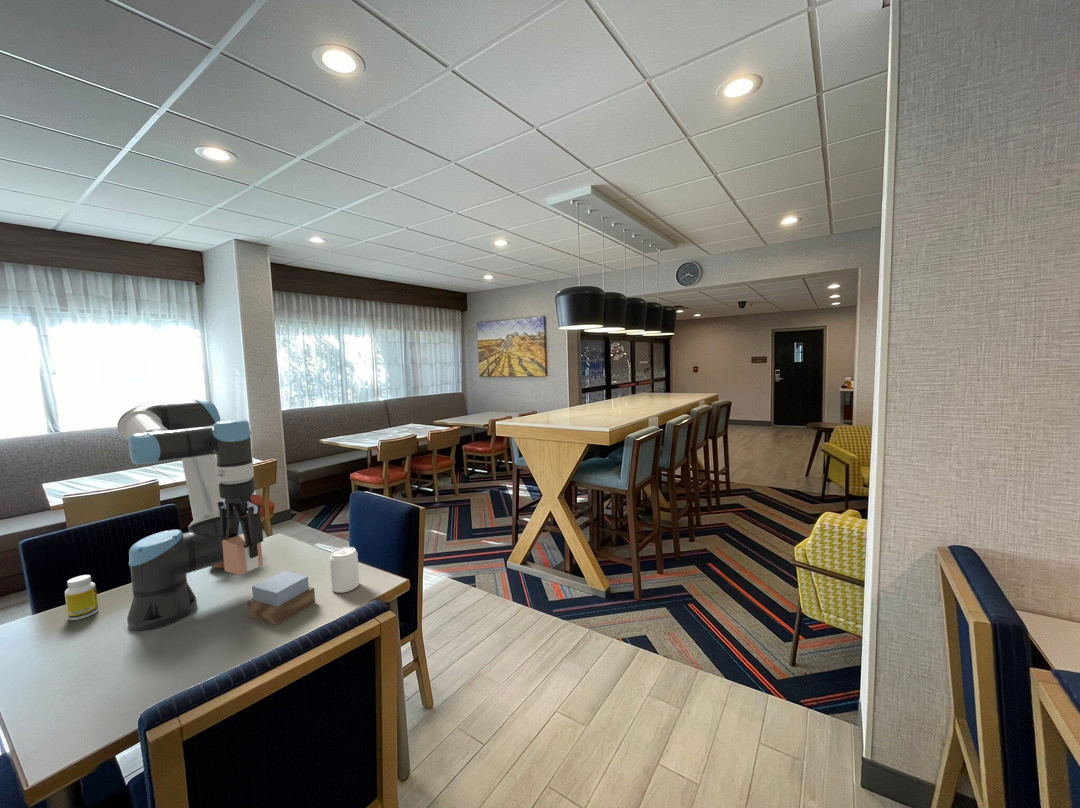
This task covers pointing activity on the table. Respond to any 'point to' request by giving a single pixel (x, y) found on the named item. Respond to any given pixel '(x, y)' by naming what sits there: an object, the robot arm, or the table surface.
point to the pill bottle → (81, 598)
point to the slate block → (280, 588)
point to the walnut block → (281, 608)
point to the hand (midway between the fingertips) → (244, 566)
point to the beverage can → (344, 569)
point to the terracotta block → (237, 554)
